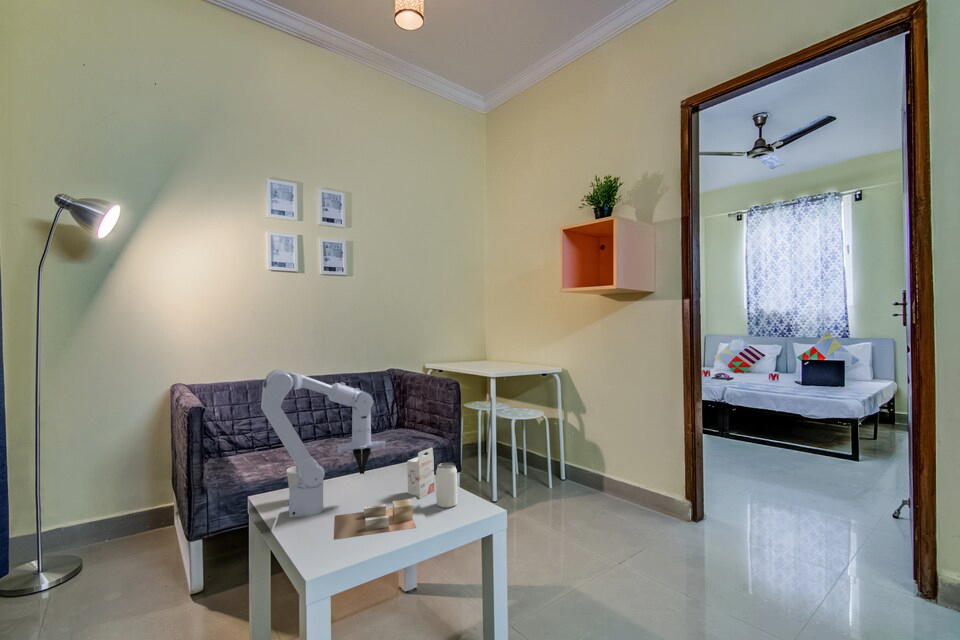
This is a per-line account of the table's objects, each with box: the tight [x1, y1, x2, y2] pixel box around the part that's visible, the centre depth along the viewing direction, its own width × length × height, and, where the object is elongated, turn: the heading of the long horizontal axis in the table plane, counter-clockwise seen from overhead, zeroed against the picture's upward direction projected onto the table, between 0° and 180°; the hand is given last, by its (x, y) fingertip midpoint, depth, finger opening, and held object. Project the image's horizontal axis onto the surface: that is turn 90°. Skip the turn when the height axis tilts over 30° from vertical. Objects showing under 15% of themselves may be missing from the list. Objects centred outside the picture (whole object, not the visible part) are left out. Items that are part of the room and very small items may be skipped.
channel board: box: [333, 503, 417, 541], centre depth 124 cm, size 21×16×4 cm
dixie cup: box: [285, 465, 300, 493], centre depth 144 cm, size 8×8×10 cm
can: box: [435, 462, 458, 509], centre depth 138 cm, size 6×6×12 cm
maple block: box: [392, 498, 414, 522], centre depth 126 cm, size 5×5×4 cm
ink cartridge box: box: [406, 446, 435, 499], centre depth 148 cm, size 9×5×15 cm, turn 151°
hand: (361, 472), depth 140 cm, fingers closed
